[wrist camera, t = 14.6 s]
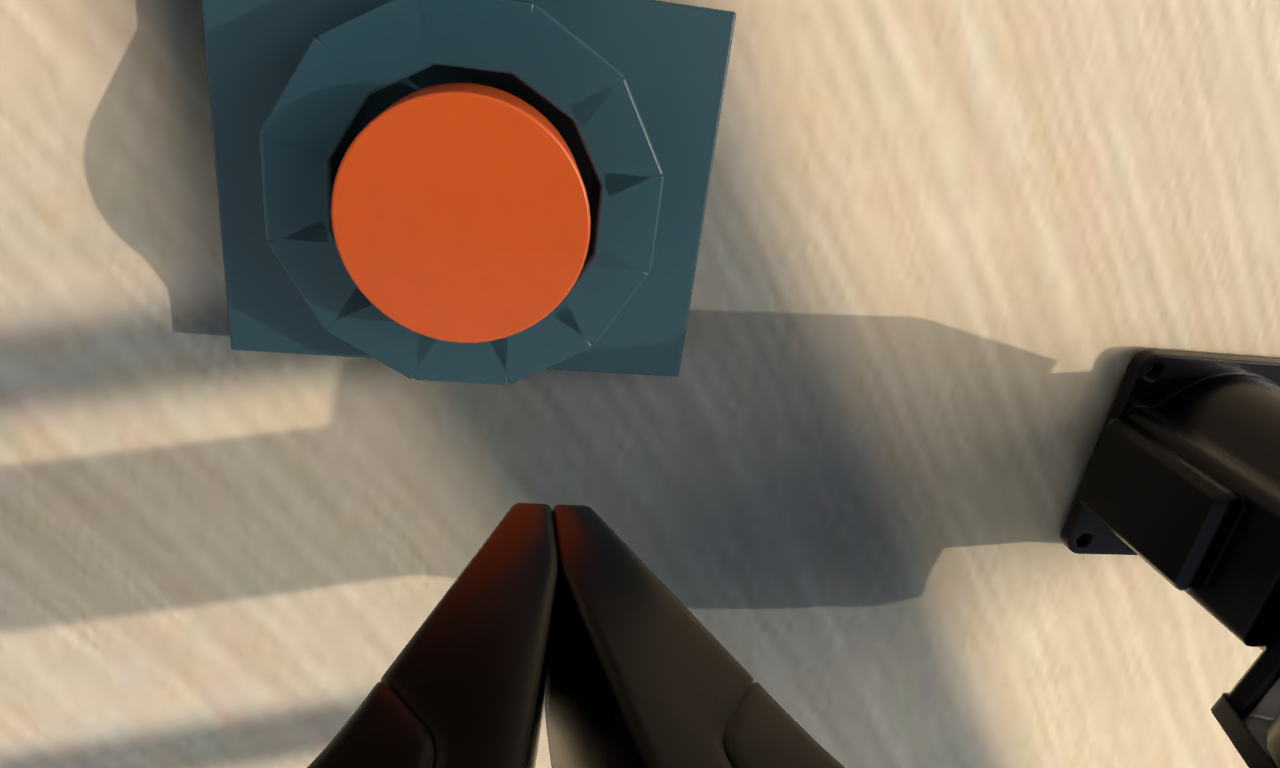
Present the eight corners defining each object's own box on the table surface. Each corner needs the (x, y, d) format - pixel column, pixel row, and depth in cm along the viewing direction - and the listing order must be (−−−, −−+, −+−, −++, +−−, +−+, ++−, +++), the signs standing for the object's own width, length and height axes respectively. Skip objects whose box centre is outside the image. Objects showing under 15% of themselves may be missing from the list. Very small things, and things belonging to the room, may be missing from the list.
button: (594, 97, 15) (604, 108, 13) (573, 319, 17) (578, 351, 15) (347, 67, 14) (326, 75, 13) (351, 303, 16) (333, 335, 14)
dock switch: (723, 11, 17) (761, 12, 14) (670, 357, 20) (693, 411, 18) (217, -62, 15) (153, -76, 13) (246, 330, 19) (201, 385, 16)
